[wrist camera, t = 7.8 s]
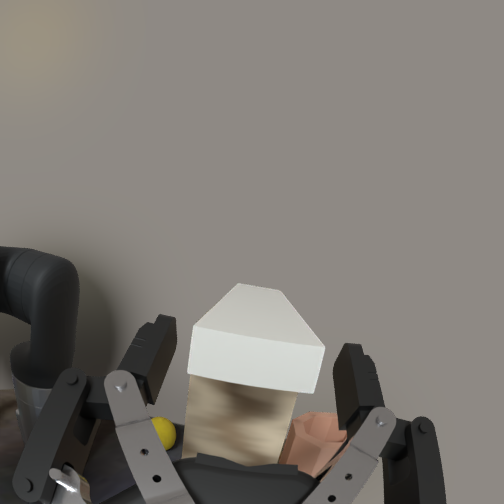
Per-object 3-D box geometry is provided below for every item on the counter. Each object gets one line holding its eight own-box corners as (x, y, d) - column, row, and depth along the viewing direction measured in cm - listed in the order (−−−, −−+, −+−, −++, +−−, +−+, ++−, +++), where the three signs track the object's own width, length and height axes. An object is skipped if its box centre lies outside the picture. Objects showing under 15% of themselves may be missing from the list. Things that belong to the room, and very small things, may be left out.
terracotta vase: (252, 554, 18) (298, 447, 19) (253, 520, 25) (290, 409, 26) (306, 554, 18) (372, 447, 19) (301, 522, 25) (351, 413, 26)
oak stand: (176, 547, 17) (196, 322, 19) (198, 475, 34) (225, 295, 36) (240, 558, 17) (311, 341, 18) (246, 483, 34) (287, 305, 35)
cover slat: (187, 373, 10) (193, 325, 10) (235, 299, 33) (238, 283, 33) (313, 393, 10) (325, 347, 10) (277, 306, 33) (280, 290, 33)
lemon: (140, 452, 36) (140, 420, 37) (151, 437, 42) (152, 406, 42) (170, 462, 36) (172, 430, 36) (178, 446, 42) (181, 414, 42)
